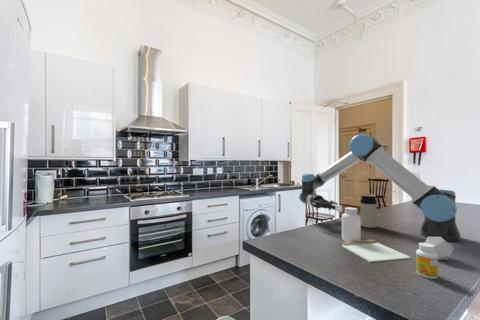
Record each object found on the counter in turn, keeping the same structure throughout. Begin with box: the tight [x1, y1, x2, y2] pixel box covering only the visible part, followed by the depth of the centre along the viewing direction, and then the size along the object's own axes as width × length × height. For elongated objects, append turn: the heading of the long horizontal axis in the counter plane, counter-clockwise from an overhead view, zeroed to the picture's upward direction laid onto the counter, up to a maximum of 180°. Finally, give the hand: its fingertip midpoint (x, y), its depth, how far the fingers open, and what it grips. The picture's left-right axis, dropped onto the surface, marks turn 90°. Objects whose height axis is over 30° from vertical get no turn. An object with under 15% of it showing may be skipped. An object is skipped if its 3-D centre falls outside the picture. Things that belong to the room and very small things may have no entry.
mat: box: [341, 242, 412, 263], centre depth 92 cm, size 16×18×1 cm
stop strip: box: [341, 239, 377, 246], centre depth 101 cm, size 1×16×2 cm, turn 102°
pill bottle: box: [341, 206, 362, 242], centre depth 106 cm, size 8×8×15 cm
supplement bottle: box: [415, 242, 439, 280], centre depth 74 cm, size 5×5×10 cm
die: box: [424, 237, 455, 261], centre depth 87 cm, size 8×9×10 cm
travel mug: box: [360, 193, 378, 229], centre depth 131 cm, size 8×8×18 cm
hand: (340, 208), depth 113 cm, fingers closed
